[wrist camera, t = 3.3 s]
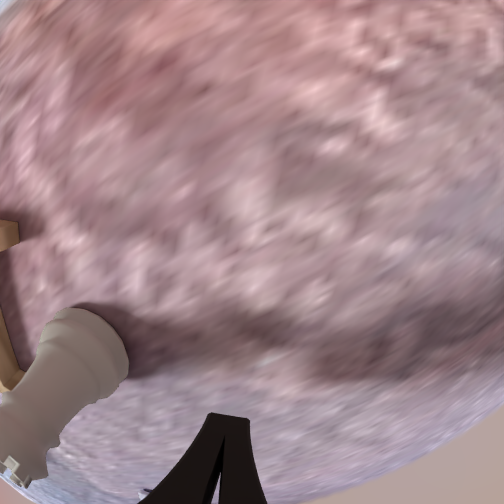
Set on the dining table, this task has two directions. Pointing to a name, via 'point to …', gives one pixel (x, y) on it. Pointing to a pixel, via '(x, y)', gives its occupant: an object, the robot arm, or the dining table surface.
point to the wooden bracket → (3, 358)
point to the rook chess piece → (58, 389)
